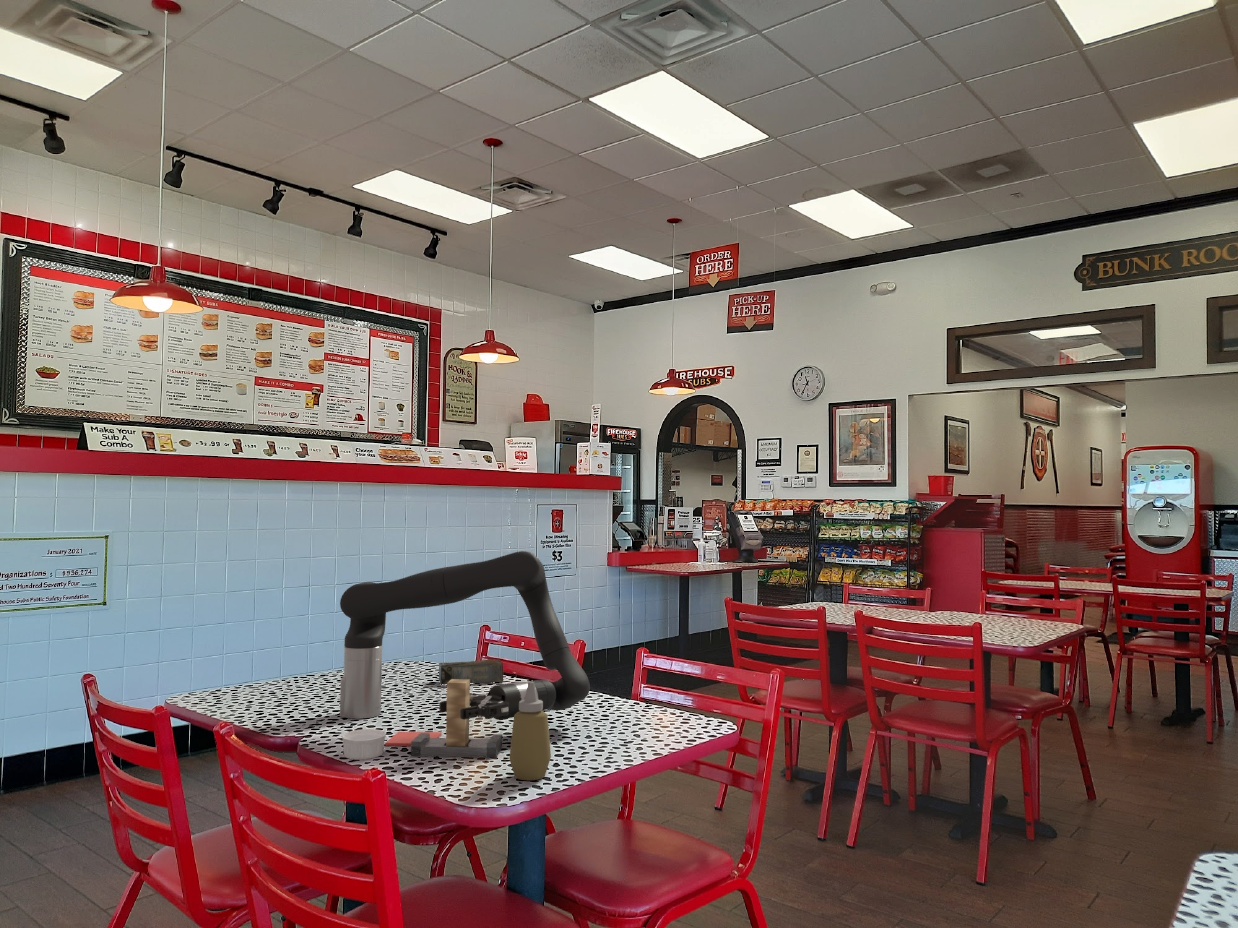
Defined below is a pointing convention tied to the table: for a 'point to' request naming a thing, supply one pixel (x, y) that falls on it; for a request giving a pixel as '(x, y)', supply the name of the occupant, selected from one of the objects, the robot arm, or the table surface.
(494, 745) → the grey piece
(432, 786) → the table surface
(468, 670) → the beverage carton
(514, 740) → the squeeze bottle
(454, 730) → the oak peg
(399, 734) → the red coaster
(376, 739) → the ramekin
